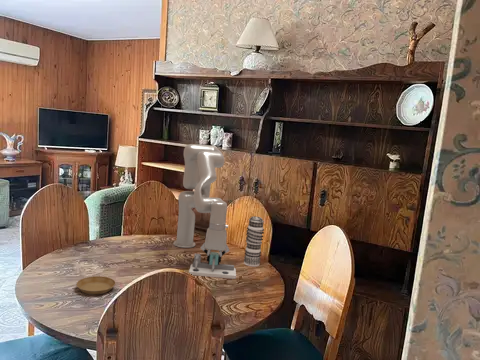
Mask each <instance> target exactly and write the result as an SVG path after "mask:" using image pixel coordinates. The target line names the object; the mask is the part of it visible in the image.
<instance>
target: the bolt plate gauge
mask: <svg viewBox="0 0 480 360" xmlns="http://www.w3.org/2000/svg"><path fill="white" fill-rule="evenodd" d="M193 258H194V259H193V261H192V263H191V264H190V268H189V269H188V274H189V273H190V274H192V275H191V276H197V277H198V276H199V277H211V278H219V279H221V278H223V279H233V280H236V277H237V272H236V271H237V270H236V269H237V268H235V265H234V264H223V263H219V265H214V271H212V265H209V264H208V262H204V261H203V262H201V260H202V253H194V256H193Z"/></svg>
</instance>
